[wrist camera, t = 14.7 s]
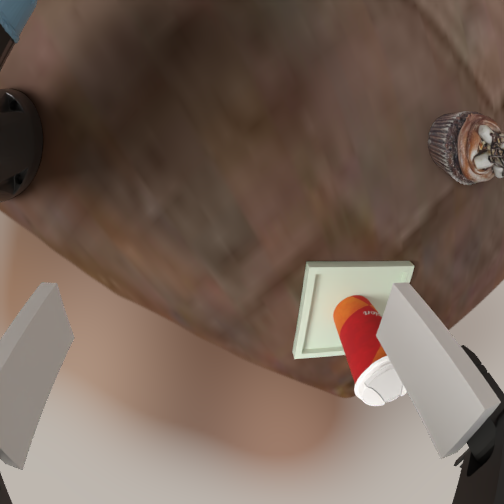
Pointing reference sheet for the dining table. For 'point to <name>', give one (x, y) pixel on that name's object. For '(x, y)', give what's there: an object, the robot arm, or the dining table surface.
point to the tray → (340, 299)
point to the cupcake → (467, 147)
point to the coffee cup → (366, 351)
